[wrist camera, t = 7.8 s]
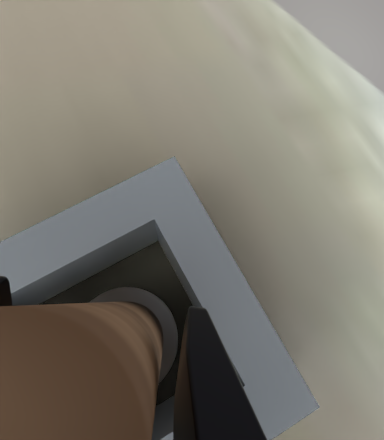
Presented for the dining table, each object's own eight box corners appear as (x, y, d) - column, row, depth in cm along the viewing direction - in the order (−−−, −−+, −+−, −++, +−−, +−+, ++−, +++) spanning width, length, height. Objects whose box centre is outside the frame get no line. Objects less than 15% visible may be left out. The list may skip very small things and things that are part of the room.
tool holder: (73, 512, 15) (32, 601, 10) (-22, 292, 16) (-92, 286, 12) (279, 379, 16) (320, 407, 12) (173, 192, 18) (174, 156, 14)
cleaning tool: (123, 411, 16) (-63, 876, 3) (59, 335, 16) (-329, 460, 4) (196, 338, 17) (287, 466, 4) (133, 268, 17) (31, 179, 4)
